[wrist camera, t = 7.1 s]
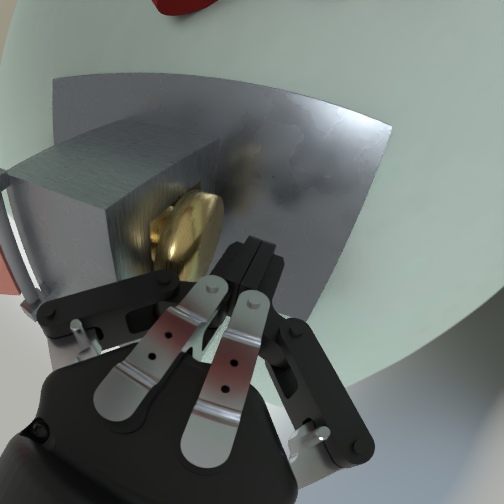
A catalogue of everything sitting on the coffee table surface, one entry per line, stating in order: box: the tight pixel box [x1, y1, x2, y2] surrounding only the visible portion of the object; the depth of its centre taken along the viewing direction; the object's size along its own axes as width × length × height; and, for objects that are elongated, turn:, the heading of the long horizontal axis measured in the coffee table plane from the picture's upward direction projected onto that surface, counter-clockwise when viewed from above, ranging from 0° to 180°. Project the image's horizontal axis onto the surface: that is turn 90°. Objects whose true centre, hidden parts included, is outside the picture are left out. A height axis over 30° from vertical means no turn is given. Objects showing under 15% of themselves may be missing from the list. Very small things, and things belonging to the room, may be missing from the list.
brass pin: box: [150, 189, 224, 282], centre depth 15 cm, size 6×14×6 cm, turn 79°
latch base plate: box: [0, 73, 392, 347], centre depth 14 cm, size 16×26×12 cm, turn 79°
